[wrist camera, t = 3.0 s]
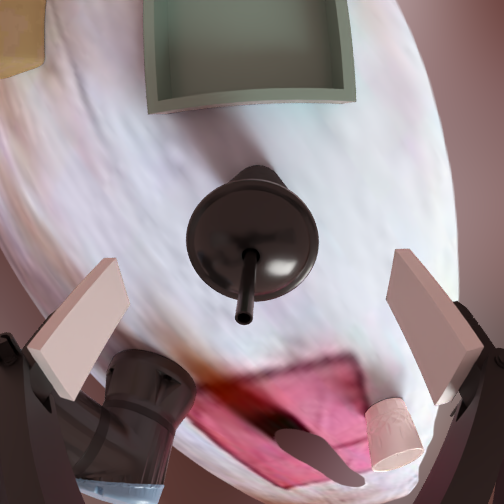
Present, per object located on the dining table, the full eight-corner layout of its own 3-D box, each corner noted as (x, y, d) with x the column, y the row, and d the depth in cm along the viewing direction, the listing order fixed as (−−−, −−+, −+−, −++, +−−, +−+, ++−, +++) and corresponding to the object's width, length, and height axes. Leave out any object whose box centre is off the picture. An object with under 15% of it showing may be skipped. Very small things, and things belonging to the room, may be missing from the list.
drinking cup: (303, 214, 30) (350, 363, 12) (232, 232, 31) (192, 388, 13) (285, 142, 27) (327, 197, 9) (210, 163, 28) (115, 253, 10)
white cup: (360, 404, 44) (372, 460, 33) (409, 388, 43) (428, 442, 32) (361, 426, 48) (371, 476, 37) (405, 413, 46) (419, 460, 36)
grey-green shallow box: (166, 114, 26) (148, 114, 21) (161, -25, 18) (145, -43, 14) (341, 103, 25) (356, 101, 20) (325, -38, 17) (334, -59, 13)
